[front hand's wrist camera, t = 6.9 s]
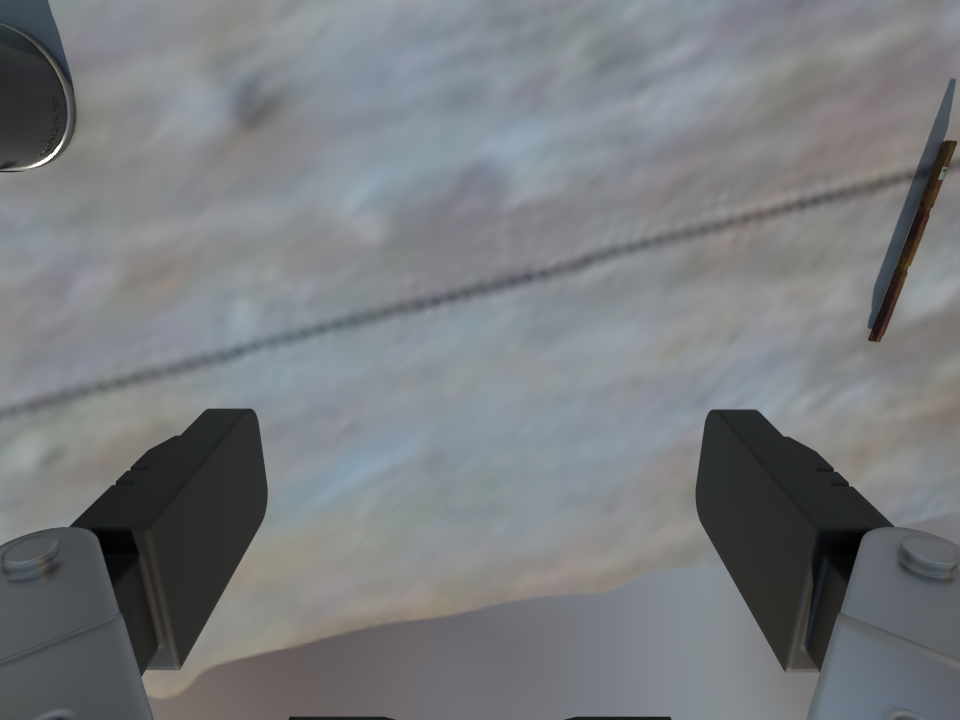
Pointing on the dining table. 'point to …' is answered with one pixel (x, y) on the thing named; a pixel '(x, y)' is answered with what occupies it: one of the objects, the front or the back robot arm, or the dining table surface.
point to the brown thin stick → (913, 239)
